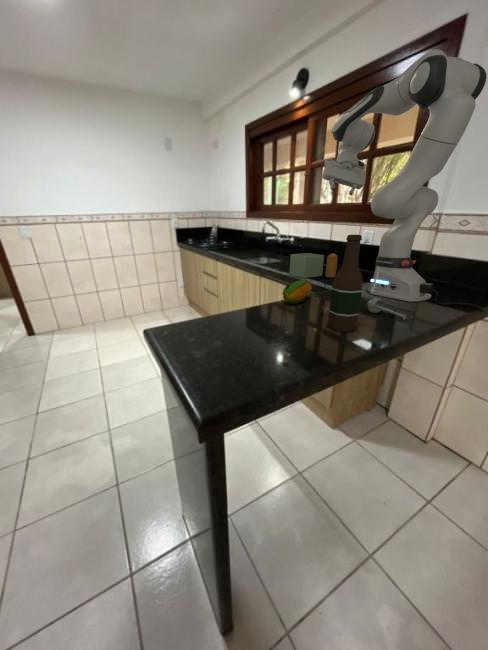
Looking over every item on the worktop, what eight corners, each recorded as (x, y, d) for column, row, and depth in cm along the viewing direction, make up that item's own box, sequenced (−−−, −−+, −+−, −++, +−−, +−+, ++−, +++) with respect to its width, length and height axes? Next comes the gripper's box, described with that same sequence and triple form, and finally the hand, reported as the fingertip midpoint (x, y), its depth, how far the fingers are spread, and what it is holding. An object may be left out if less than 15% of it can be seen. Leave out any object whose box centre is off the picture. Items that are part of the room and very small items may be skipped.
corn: (278, 283, 88) (301, 274, 104) (276, 304, 91) (299, 292, 107) (298, 287, 85) (319, 277, 100) (295, 309, 88) (316, 296, 103)
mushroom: (404, 309, 74) (366, 294, 82) (396, 324, 75) (359, 308, 84) (413, 310, 78) (376, 296, 87) (406, 324, 80) (370, 309, 88)
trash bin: (322, 275, 141) (324, 255, 137) (304, 278, 136) (305, 256, 132) (306, 272, 152) (308, 253, 148) (289, 274, 146) (290, 254, 142)
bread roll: (337, 276, 139) (340, 253, 135) (330, 277, 137) (333, 254, 132) (330, 275, 143) (332, 252, 139) (323, 276, 141) (325, 253, 137)
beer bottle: (323, 322, 76) (333, 234, 67) (350, 322, 75) (364, 234, 67) (331, 332, 68) (343, 235, 60) (361, 332, 68) (378, 235, 59)
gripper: (328, 153, 119) (324, 181, 117) (369, 165, 122) (365, 193, 120) (322, 162, 125) (318, 189, 123) (360, 174, 128) (357, 200, 126)
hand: (341, 191), depth 122 cm, fingers open, 8 cm apart
